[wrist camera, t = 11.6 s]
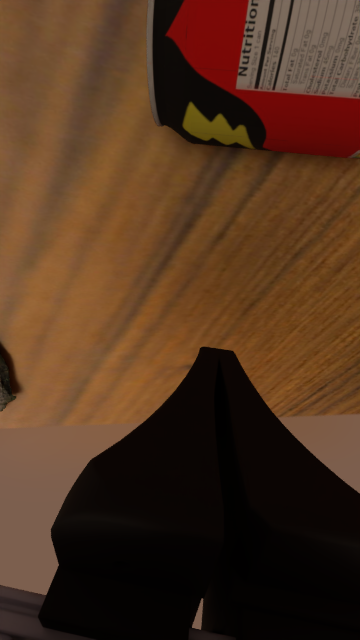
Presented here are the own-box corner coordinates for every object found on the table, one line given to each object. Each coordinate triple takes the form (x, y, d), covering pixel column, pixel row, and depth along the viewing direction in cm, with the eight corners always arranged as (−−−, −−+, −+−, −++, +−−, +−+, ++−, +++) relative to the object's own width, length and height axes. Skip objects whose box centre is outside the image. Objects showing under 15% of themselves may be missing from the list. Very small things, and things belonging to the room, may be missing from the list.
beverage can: (437, -9, 12) (174, -22, 13) (591, -103, 7) (140, -115, 8) (367, 155, 16) (168, 137, 17) (433, 171, 11) (143, 144, 12)
